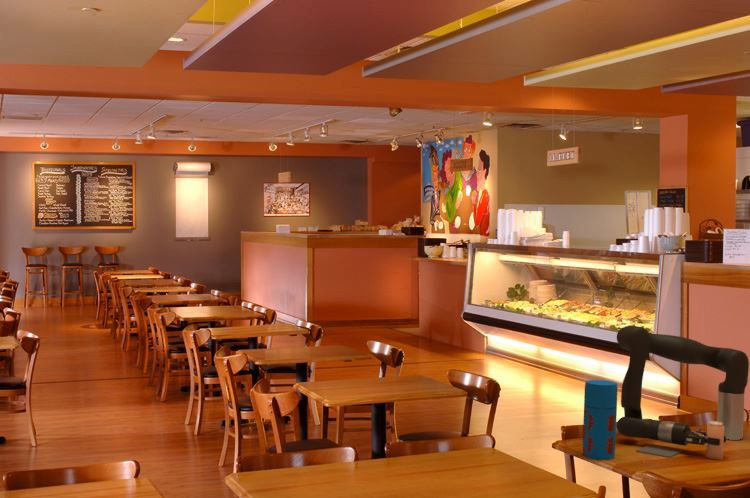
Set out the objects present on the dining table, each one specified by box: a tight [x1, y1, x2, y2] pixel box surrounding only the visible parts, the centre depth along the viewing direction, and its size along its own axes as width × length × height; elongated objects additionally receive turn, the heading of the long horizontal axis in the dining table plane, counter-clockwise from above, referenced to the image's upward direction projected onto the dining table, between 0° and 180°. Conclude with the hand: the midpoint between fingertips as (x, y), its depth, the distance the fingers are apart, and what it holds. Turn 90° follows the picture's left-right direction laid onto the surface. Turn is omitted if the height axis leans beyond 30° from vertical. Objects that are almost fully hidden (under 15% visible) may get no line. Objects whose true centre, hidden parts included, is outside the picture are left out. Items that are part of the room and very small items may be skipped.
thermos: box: [582, 379, 619, 461], centre depth 322 cm, size 11×11×25 cm
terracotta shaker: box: [705, 420, 725, 460], centre depth 325 cm, size 6×6×12 cm
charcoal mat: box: [635, 444, 684, 459], centre depth 331 cm, size 12×12×1 cm
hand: (722, 440), depth 323 cm, fingers closed on terracotta shaker, 5 cm apart
